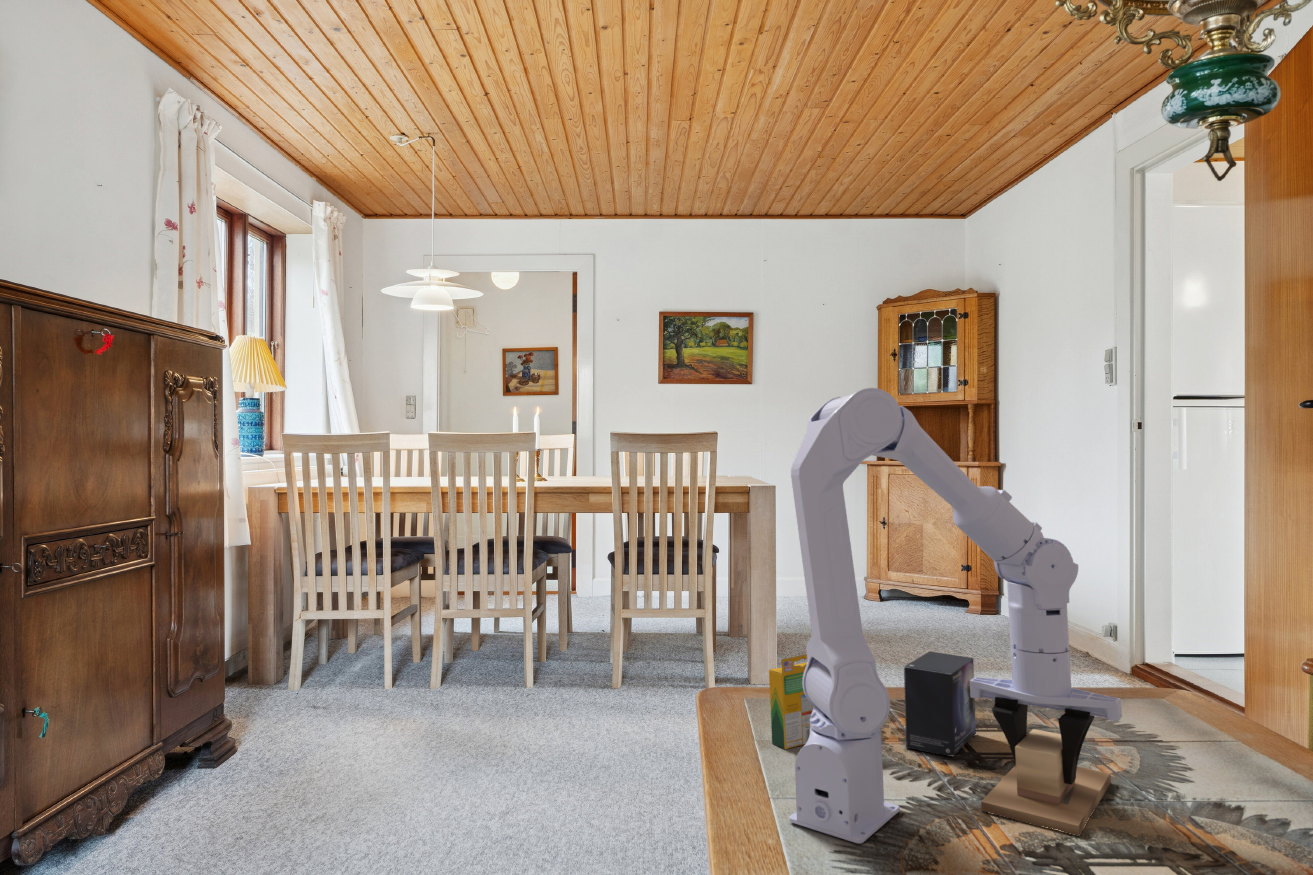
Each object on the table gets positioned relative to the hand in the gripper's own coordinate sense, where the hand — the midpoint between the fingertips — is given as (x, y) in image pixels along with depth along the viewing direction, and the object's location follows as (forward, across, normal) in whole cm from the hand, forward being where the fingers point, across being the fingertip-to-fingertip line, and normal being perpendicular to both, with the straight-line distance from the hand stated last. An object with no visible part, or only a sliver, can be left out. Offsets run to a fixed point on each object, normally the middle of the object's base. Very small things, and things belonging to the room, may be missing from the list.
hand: (1046, 775), depth 81 cm
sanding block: (+1, 0, 0) cm, 1 cm away
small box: (+3, +15, -11) cm, 19 cm away
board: (+2, 0, -1) cm, 3 cm away
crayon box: (+3, +30, 0) cm, 30 cm away
